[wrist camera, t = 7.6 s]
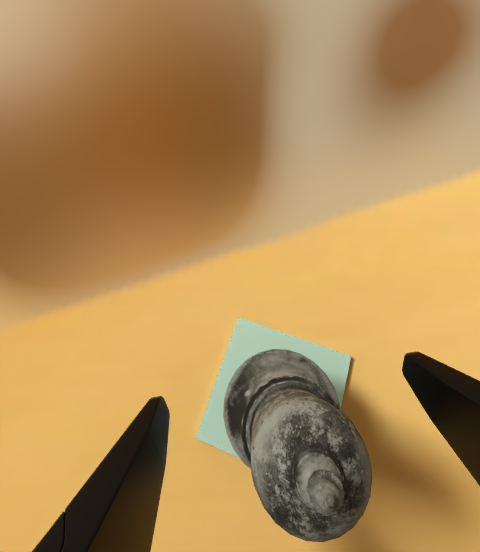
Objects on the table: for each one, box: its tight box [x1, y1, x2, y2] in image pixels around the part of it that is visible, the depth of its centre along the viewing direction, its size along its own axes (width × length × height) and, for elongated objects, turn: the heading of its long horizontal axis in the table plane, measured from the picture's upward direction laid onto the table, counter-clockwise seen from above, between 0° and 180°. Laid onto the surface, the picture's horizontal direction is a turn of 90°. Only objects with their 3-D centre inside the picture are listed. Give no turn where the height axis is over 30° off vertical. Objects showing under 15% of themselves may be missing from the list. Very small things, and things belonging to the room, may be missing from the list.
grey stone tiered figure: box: [223, 349, 372, 542], centre depth 10 cm, size 6×6×12 cm
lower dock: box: [196, 317, 351, 459], centre depth 16 cm, size 8×8×1 cm
